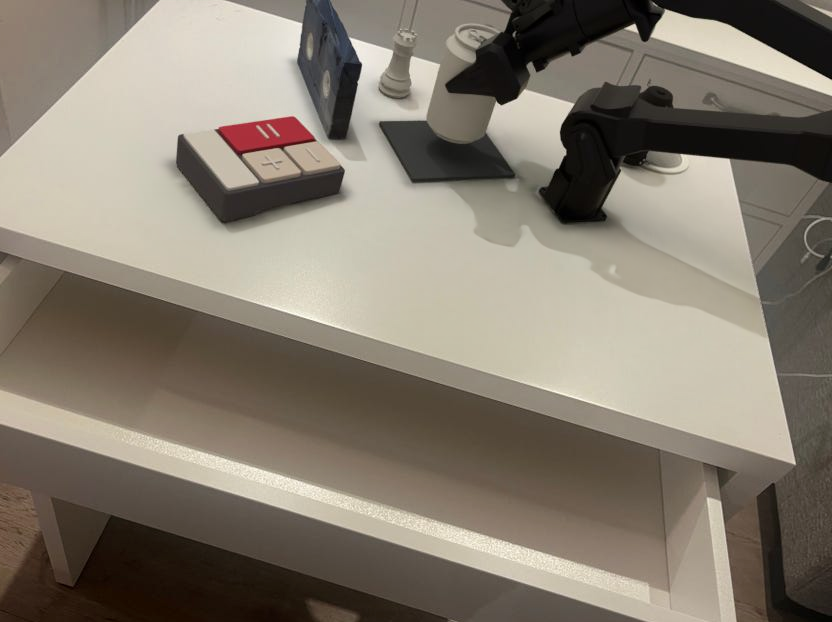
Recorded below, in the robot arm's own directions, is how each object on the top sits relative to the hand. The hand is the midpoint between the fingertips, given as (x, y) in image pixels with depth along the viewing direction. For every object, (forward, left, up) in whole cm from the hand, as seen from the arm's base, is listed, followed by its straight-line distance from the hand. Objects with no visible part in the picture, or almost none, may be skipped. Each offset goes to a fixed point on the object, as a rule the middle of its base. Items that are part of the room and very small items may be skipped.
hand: (458, 75), depth 89 cm
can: (-1, +1, -7) cm, 7 cm away
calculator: (+24, +5, -10) cm, 27 cm away
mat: (-1, +1, -10) cm, 10 cm away
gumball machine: (-27, +4, -10) cm, 29 cm away
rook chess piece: (+1, -13, -10) cm, 16 cm away
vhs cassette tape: (+12, -11, -10) cm, 19 cm away
